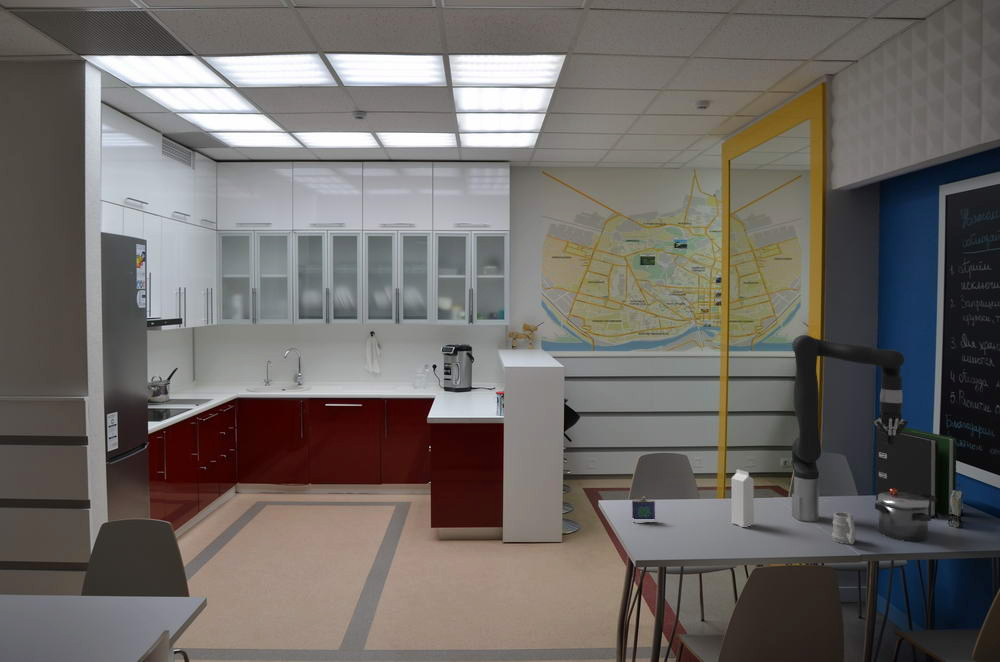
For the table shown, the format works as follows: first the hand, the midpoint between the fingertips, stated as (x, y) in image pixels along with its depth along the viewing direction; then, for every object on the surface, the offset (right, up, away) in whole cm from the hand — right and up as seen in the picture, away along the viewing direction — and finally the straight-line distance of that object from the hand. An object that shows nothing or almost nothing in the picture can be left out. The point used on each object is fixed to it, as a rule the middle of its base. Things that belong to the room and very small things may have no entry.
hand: (889, 444), depth 259 cm
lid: (+1, -20, -9) cm, 22 cm away
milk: (-56, -33, +5) cm, 65 cm away
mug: (-26, -34, -16) cm, 45 cm away
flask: (-94, -34, +11) cm, 101 cm away
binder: (+24, -31, +23) cm, 45 cm away
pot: (0, -33, -9) cm, 34 cm away
